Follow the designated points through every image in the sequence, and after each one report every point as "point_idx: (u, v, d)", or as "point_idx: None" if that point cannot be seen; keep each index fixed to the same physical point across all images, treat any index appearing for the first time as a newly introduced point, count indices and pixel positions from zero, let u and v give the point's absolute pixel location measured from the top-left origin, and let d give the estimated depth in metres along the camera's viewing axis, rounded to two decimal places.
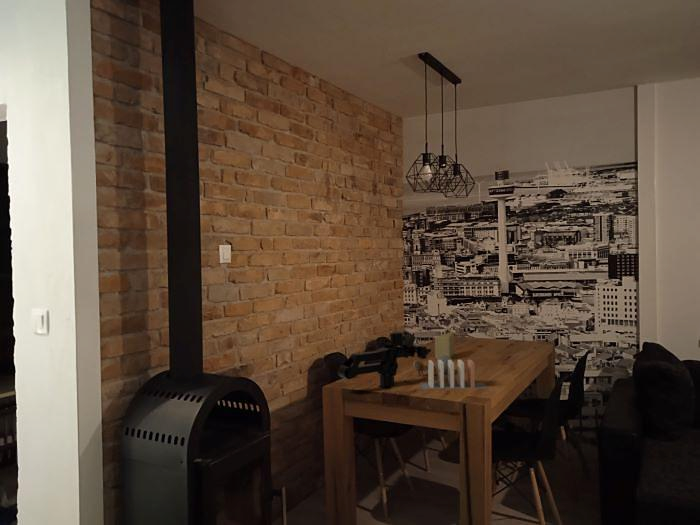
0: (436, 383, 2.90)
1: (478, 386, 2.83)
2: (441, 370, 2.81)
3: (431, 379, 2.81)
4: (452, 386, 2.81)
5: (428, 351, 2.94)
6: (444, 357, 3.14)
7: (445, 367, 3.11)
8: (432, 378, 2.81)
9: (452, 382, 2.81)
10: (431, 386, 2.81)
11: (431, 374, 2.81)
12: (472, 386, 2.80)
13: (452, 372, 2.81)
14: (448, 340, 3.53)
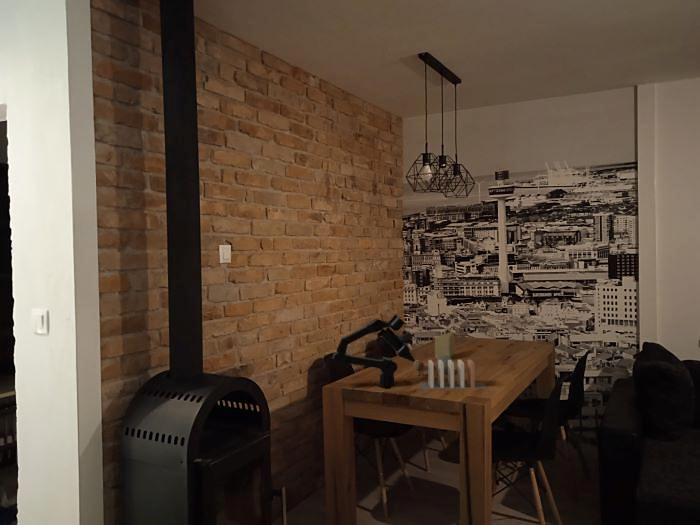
0: (436, 383, 2.90)
1: (478, 386, 2.83)
2: (441, 370, 2.81)
3: (431, 379, 2.81)
4: (452, 386, 2.81)
5: (410, 358, 2.81)
6: (444, 357, 3.14)
7: (445, 367, 3.11)
8: (432, 378, 2.81)
9: (452, 382, 2.81)
10: (431, 386, 2.81)
11: (431, 374, 2.81)
12: (472, 386, 2.80)
13: (452, 372, 2.81)
14: (448, 340, 3.53)
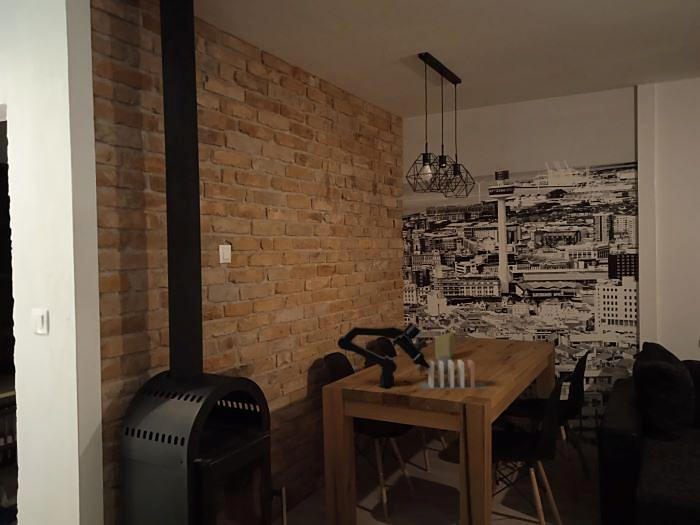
0: (436, 383, 2.90)
1: (478, 386, 2.83)
2: (441, 370, 2.81)
3: (432, 379, 2.81)
4: (452, 386, 2.81)
5: (425, 364, 2.84)
6: (444, 357, 3.14)
7: (445, 367, 3.11)
8: (432, 378, 2.81)
9: (452, 382, 2.81)
10: (431, 386, 2.81)
11: (431, 374, 2.81)
12: (472, 386, 2.80)
13: (452, 372, 2.81)
14: (448, 340, 3.54)
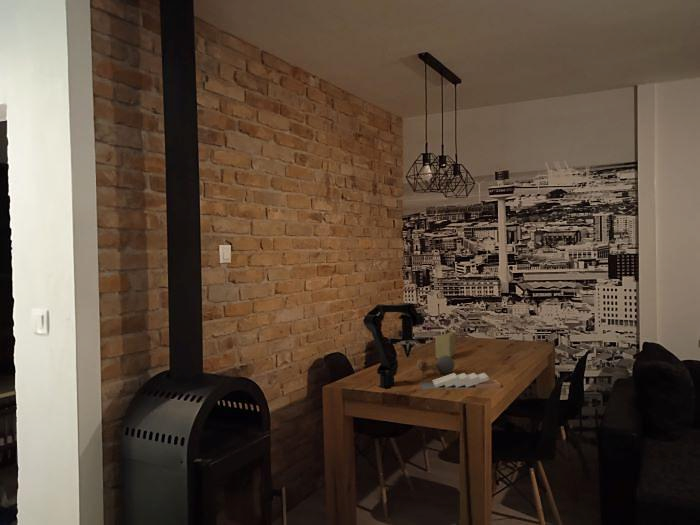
0: None
1: None
2: (461, 379, 2.81)
3: (443, 383, 2.81)
4: (456, 385, 2.81)
5: (409, 352, 2.96)
6: (444, 357, 3.14)
7: (445, 367, 3.11)
8: (444, 383, 2.81)
9: (460, 384, 2.81)
10: (436, 385, 2.81)
11: (447, 381, 2.81)
12: (476, 385, 2.80)
13: (470, 381, 2.80)
14: (448, 340, 3.55)
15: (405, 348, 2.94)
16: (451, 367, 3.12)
